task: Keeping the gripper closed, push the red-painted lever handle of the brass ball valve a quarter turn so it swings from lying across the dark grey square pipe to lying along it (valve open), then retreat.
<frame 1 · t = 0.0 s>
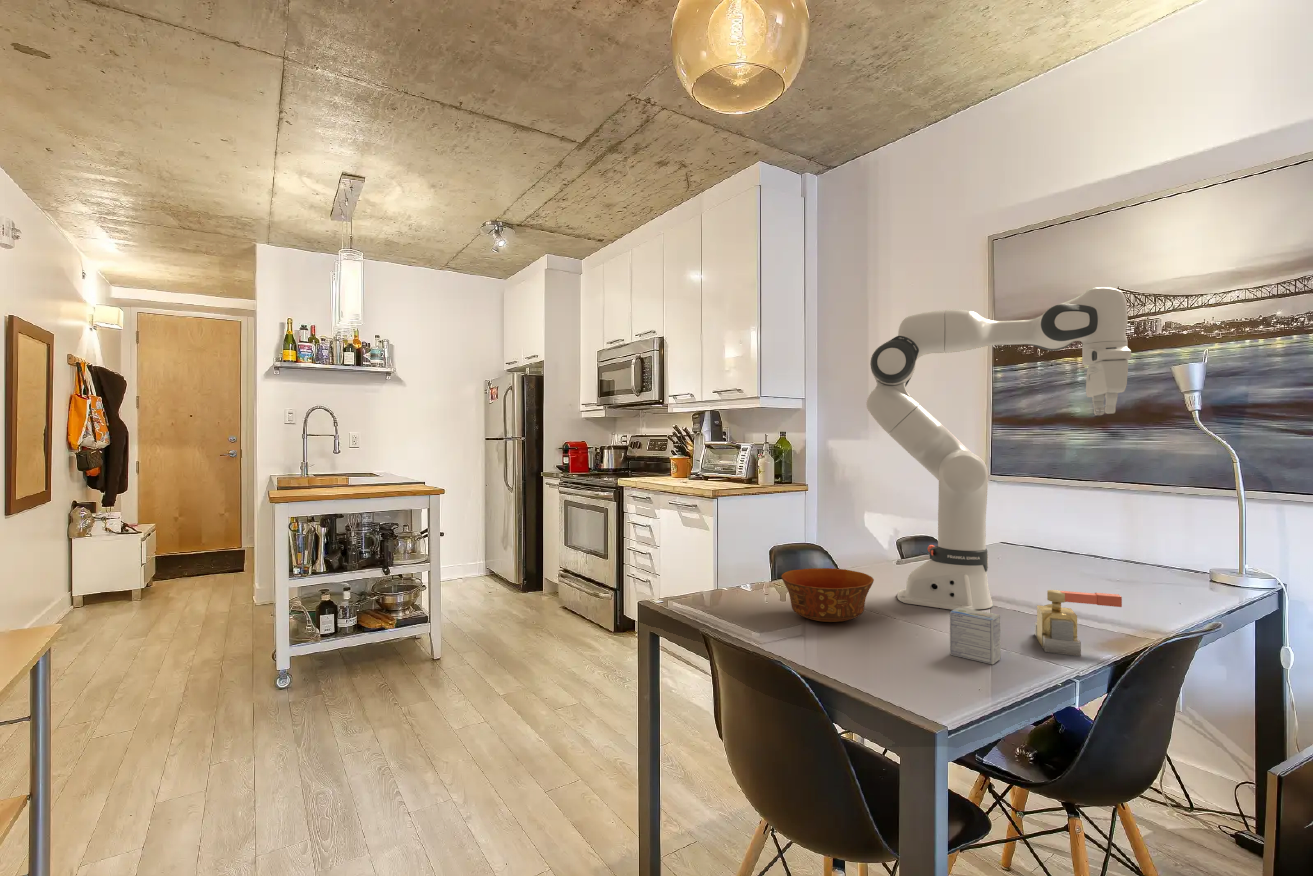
hand: (1104, 414, 150), 48 cm above the table, fingers open, 8 cm apart
bowl: (826, 619, 148), on the table
valve: (1056, 644, 129), on the table
medicine box: (974, 658, 122), on the table
lever: (1083, 597, 127), point 10 cm above the table, hinge at 0.0°
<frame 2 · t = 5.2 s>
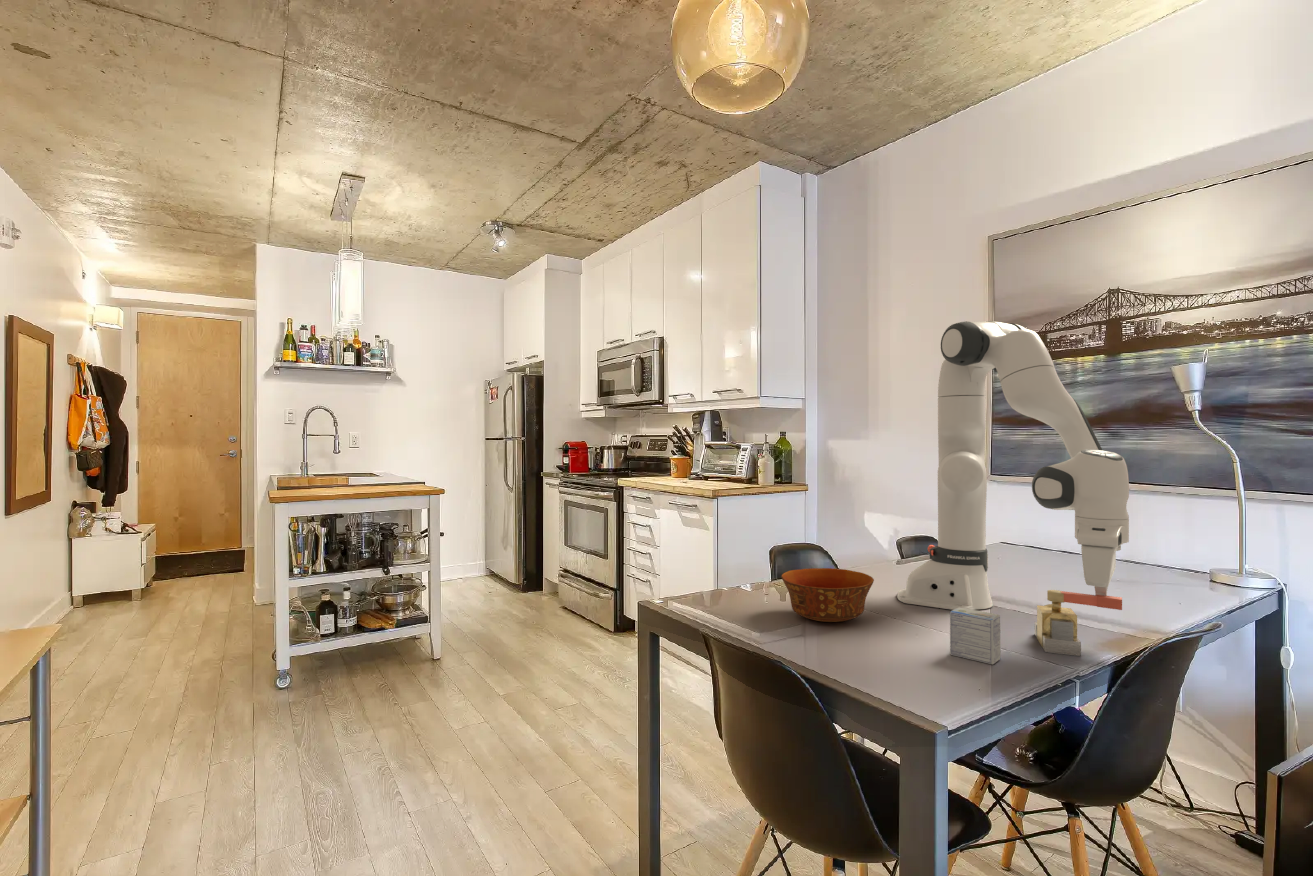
hand: (1101, 600, 126), 10 cm above the table, fingers closed, pressing on lever
lever: (1083, 599, 127), point 10 cm above the table, hinge at 14.2°, touching gripper
everything else where it was.
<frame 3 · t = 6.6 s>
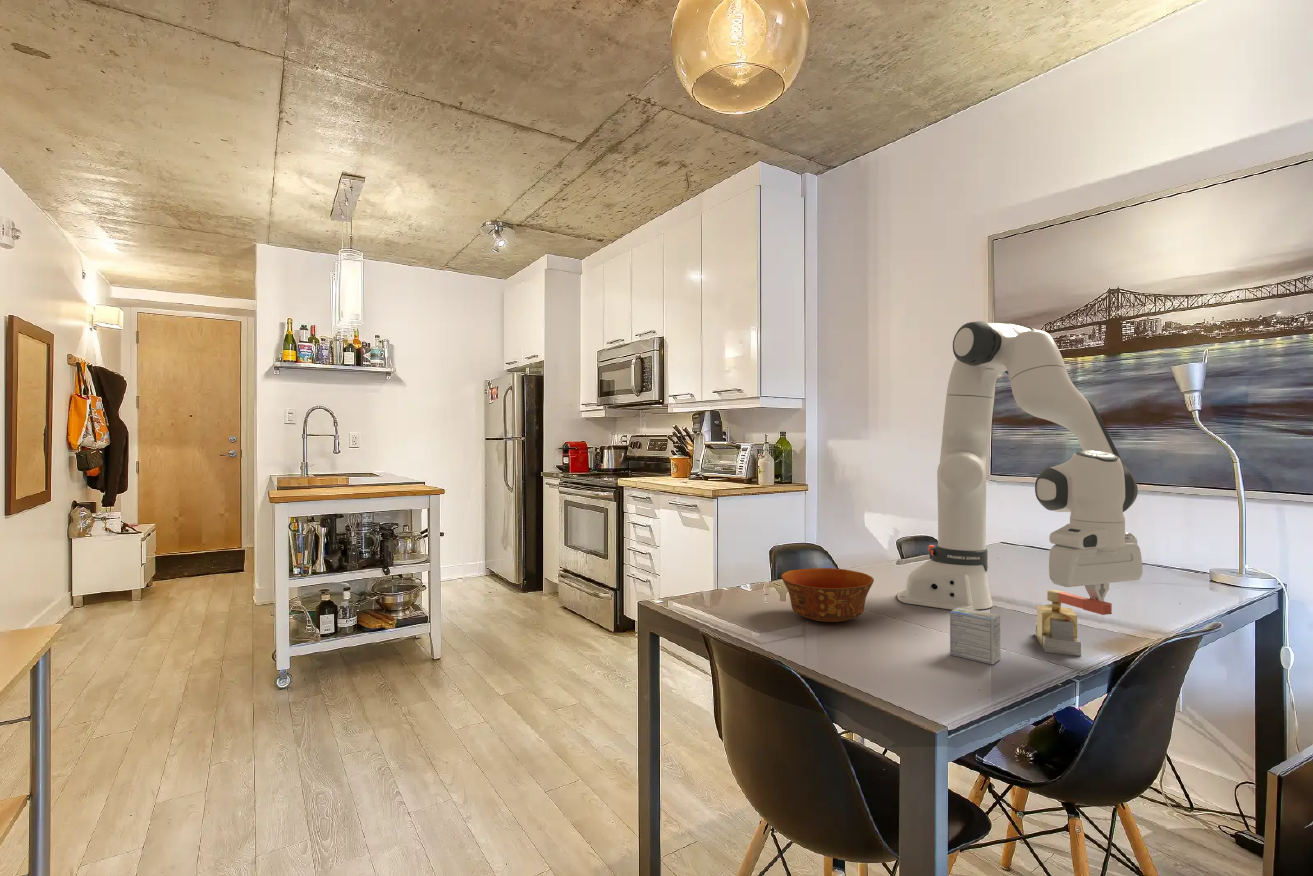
hand: (1096, 605, 123), 10 cm above the table, fingers closed, pressing on lever
lever: (1077, 601, 125), point 10 cm above the table, hinge at 51.4°, touching gripper
everything else where it was.
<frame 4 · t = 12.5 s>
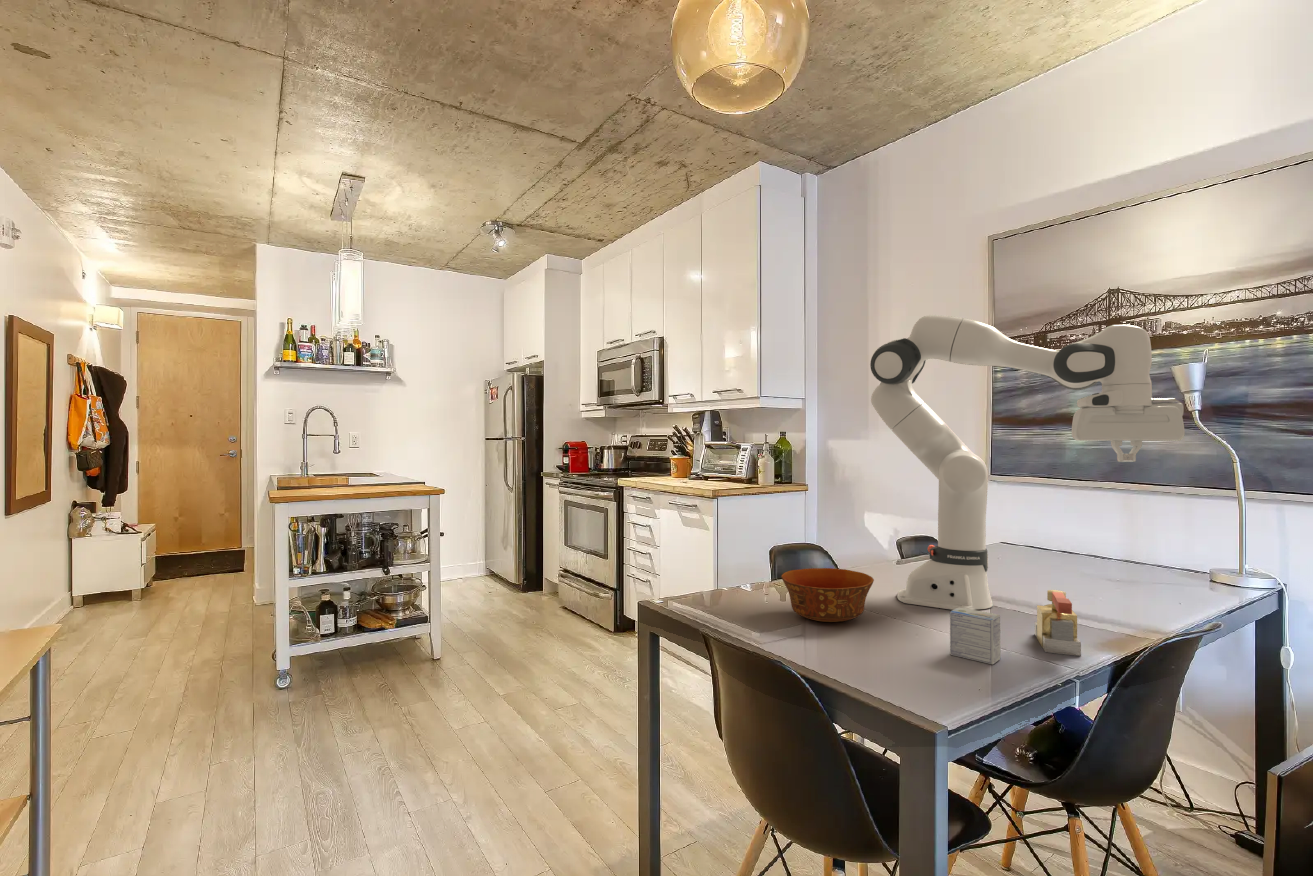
hand: (1126, 461, 139), 37 cm above the table, fingers closed
lever: (1060, 600, 125), point 10 cm above the table, hinge at 92.4°
everything else where it was.
at the end: lever at +92° (first picture: +0°); lever touching nothing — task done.
